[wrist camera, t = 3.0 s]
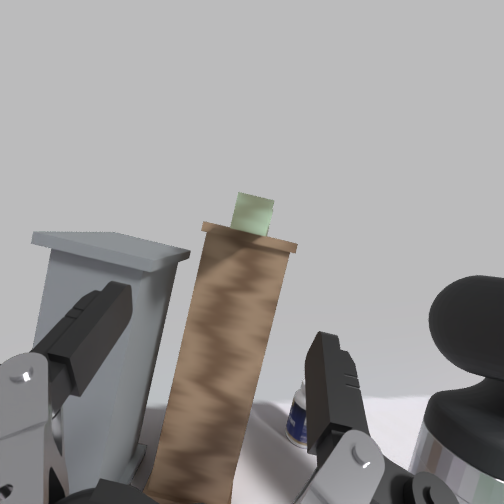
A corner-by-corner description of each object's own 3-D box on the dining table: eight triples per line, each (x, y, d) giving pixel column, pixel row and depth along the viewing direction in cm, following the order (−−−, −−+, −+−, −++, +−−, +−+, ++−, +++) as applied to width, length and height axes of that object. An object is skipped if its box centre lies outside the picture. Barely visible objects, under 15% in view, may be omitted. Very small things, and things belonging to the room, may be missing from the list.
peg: (265, 236, 42) (271, 212, 42) (275, 238, 20) (287, 188, 20) (239, 229, 42) (244, 206, 42) (220, 225, 20) (232, 175, 20)
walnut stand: (236, 434, 45) (284, 240, 43) (227, 524, 31) (297, 243, 29) (175, 420, 45) (220, 225, 43) (139, 503, 31) (203, 221, 29)
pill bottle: (280, 424, 50) (294, 373, 49) (308, 427, 51) (321, 376, 51) (290, 449, 45) (305, 391, 44) (321, 451, 46) (336, 395, 45)
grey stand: (145, 453, 38) (190, 250, 36) (86, 569, 25) (153, 260, 23) (72, 436, 38) (114, 232, 36) (-25, 542, 25) (33, 231, 23)
